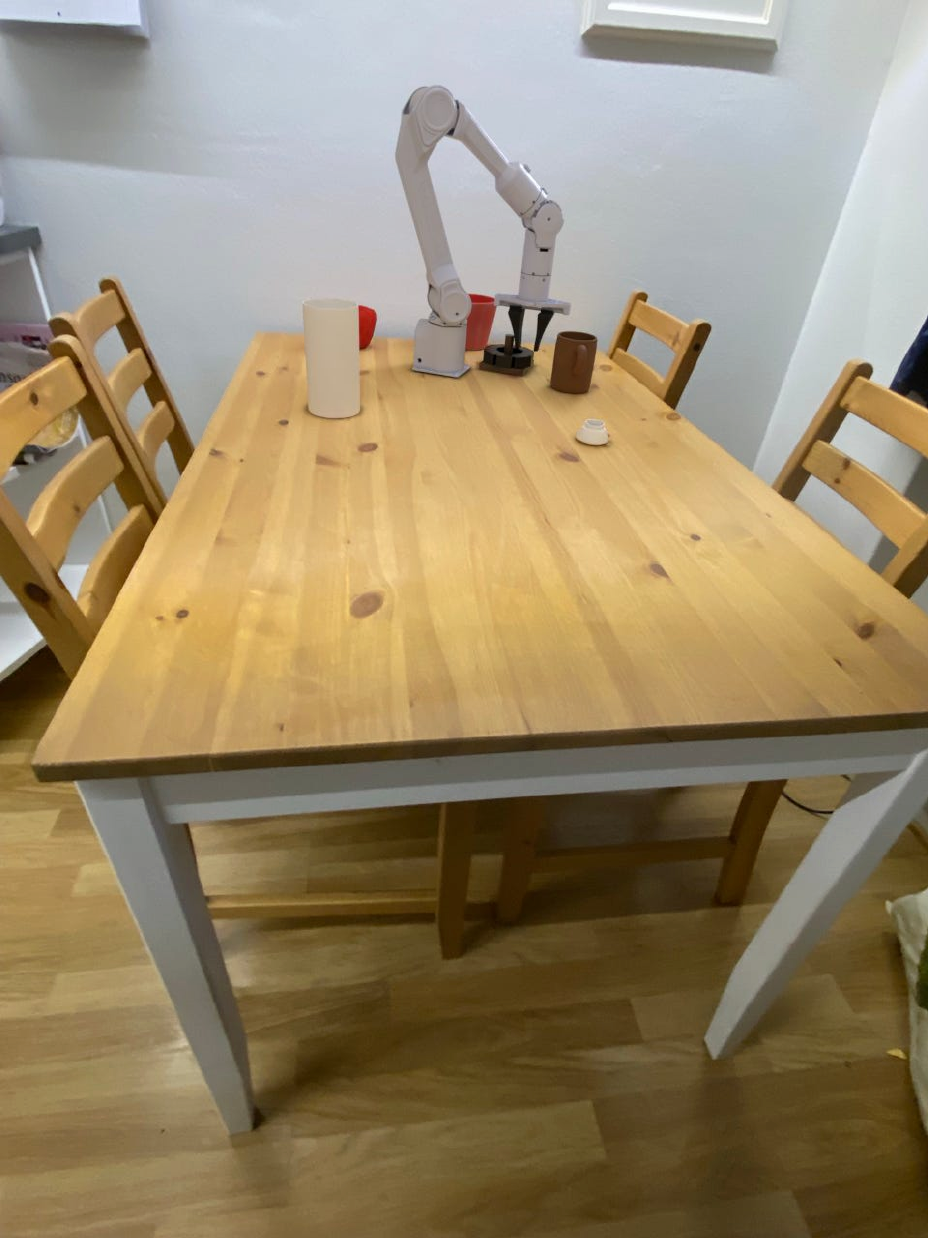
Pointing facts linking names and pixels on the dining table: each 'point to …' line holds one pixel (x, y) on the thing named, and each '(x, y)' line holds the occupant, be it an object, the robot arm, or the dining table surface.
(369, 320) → the apple
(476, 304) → the flower pot
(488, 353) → the ring
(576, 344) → the mug
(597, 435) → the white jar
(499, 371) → the post
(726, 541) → the dining table surface
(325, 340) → the cup
